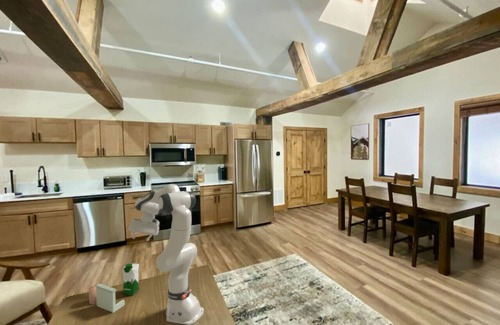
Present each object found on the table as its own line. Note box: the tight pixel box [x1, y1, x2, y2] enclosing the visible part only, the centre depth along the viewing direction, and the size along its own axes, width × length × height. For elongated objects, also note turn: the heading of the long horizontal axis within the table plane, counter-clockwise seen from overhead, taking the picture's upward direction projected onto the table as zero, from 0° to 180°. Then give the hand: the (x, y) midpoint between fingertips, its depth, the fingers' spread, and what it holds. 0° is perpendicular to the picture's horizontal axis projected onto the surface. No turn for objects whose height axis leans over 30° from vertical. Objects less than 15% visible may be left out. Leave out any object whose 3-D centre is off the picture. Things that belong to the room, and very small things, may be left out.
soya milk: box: [121, 262, 140, 296], centre depth 153 cm, size 9×9×20 cm
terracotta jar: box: [88, 284, 97, 305], centre depth 144 cm, size 6×6×9 cm
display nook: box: [95, 283, 125, 314], centre depth 140 cm, size 15×8×13 cm, turn 67°
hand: (140, 239), depth 159 cm, fingers open, 8 cm apart
